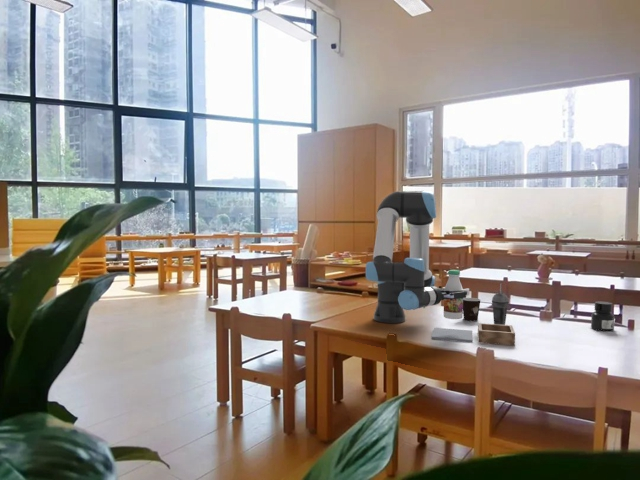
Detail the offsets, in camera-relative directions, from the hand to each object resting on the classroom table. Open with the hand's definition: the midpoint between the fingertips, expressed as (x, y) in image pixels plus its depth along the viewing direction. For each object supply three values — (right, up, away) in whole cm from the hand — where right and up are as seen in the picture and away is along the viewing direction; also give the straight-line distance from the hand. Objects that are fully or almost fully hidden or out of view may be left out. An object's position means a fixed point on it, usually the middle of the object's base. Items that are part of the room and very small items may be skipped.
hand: (459, 290), depth 200 cm
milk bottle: (-4, -11, -3) cm, 12 cm away
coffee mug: (+12, -17, +29) cm, 36 cm away
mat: (-4, -19, -2) cm, 19 cm away
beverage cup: (+23, -18, +15) cm, 33 cm away
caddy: (+12, -19, -8) cm, 24 cm away
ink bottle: (+68, -19, +11) cm, 71 cm away
